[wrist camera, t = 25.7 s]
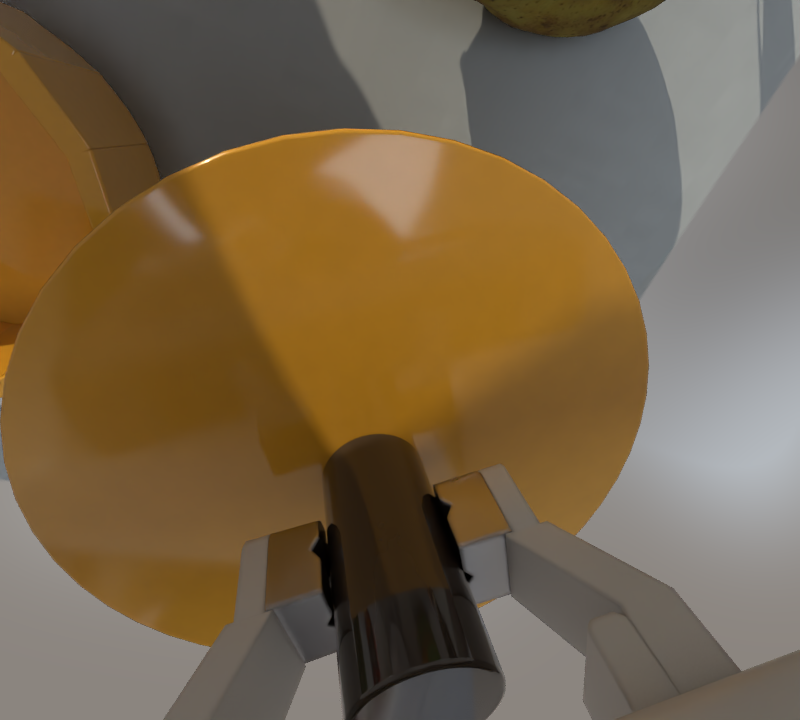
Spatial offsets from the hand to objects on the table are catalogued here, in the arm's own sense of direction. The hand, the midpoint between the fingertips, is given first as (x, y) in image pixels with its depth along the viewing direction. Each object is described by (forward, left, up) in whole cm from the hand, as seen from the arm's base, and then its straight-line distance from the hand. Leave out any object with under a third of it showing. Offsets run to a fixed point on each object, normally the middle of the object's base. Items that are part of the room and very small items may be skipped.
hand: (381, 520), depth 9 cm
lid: (0, 0, -2) cm, 2 cm away
